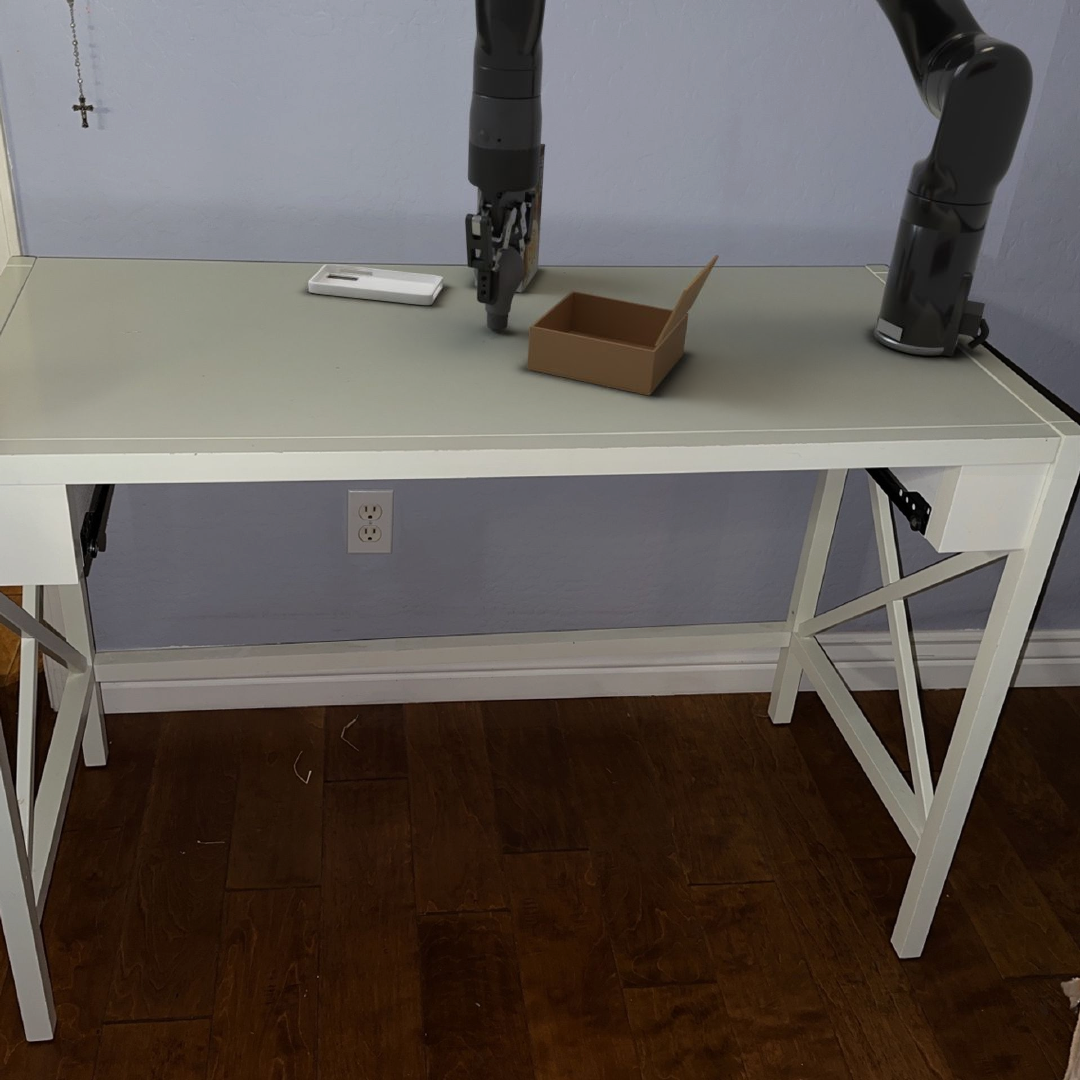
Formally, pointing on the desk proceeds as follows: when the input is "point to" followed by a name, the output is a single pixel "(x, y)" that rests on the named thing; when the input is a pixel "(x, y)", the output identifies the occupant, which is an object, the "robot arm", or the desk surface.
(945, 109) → the robot arm
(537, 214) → the coffee box
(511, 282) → the light bulb
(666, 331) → the flap
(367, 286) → the phone case
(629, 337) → the carton
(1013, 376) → the desk surface
